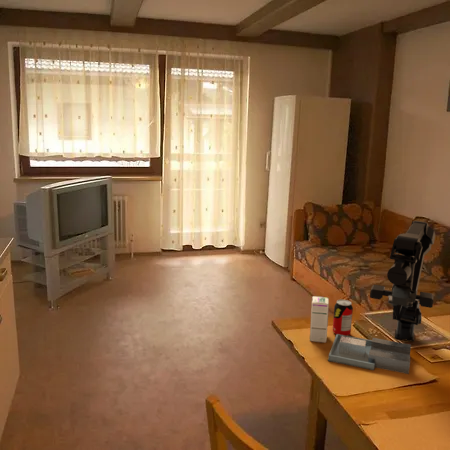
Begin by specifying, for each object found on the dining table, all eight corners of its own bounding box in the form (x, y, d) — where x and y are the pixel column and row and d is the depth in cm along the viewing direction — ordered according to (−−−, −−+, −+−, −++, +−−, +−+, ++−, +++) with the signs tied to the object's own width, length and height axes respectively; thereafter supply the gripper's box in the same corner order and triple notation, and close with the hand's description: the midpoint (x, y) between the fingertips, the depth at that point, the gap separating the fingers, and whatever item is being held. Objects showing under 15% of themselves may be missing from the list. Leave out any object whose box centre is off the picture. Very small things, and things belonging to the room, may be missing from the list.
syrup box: (326, 343, 164) (329, 303, 160) (309, 341, 165) (311, 301, 161) (326, 335, 169) (329, 297, 166) (309, 333, 170) (312, 295, 167)
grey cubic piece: (352, 349, 159) (353, 338, 158) (365, 351, 157) (366, 340, 156) (351, 355, 155) (352, 343, 154) (363, 357, 154) (364, 346, 153)
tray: (336, 339, 167) (336, 333, 166) (378, 347, 162) (378, 341, 161) (328, 360, 152) (328, 355, 152) (373, 370, 147) (374, 364, 147)
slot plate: (371, 348, 161) (372, 337, 160) (409, 355, 156) (410, 344, 156) (367, 365, 150) (369, 354, 149) (408, 374, 146) (410, 362, 145)
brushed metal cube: (352, 349, 159) (340, 346, 160) (353, 338, 158) (341, 336, 159) (351, 354, 155) (338, 352, 157) (352, 343, 154) (339, 341, 156)
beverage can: (347, 329, 174) (350, 298, 171) (352, 337, 168) (355, 306, 165) (330, 329, 174) (332, 298, 171) (334, 337, 168) (337, 305, 165)
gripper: (369, 278, 147) (365, 325, 151) (435, 288, 140) (429, 336, 144) (374, 267, 157) (369, 311, 161) (435, 276, 150) (429, 321, 154)
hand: (398, 320), depth 155 cm, fingers closed
